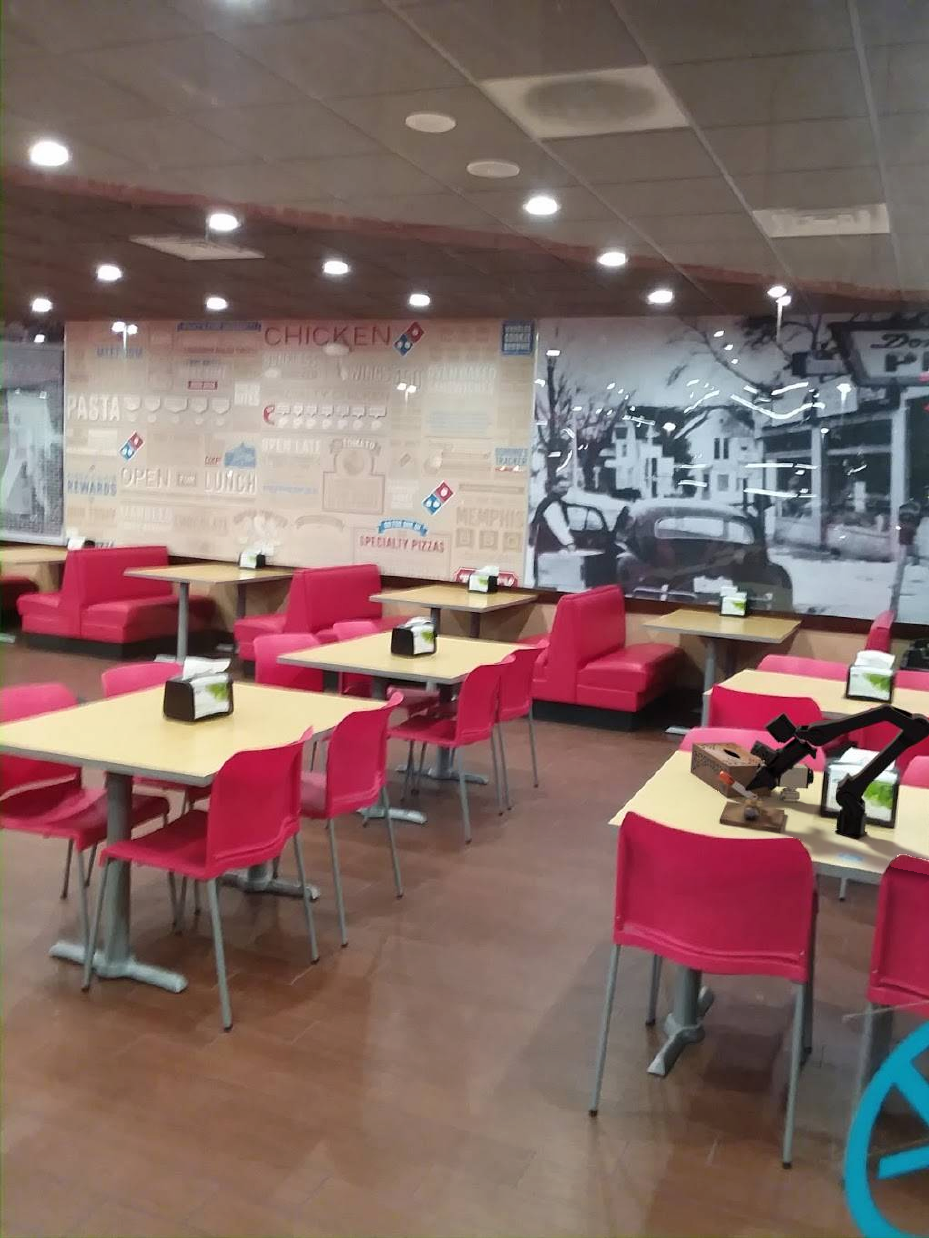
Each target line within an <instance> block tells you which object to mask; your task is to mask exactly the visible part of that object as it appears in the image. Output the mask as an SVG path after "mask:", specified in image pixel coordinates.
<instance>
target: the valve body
mask: <svg viewBox="0 0 929 1238" xmlns="http://www.w3.org/2000/svg"><path fill="white" fill-rule="evenodd" d="M755 795H757V794H755ZM744 804H745V805H744V814H743V816H744V819H745V820H749V821H757V819H758V818H760V816H761V813H762V806H763V800H762V799H761V797H758V799H757V801H756V798H754V797H751V800H749V799H748V798H747V799H745V802H744Z"/></svg>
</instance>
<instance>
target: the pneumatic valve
mask: <svg viewBox="0 0 929 1238" xmlns="http://www.w3.org/2000/svg"><path fill="white" fill-rule="evenodd" d="M776 778H777V777H776ZM777 779H778V778H777ZM814 779H815V773H814V769H812V768H810V767H809V766H808V765H807V764H806V763H799V762H798V763H797V764H796V765H794V767H793V769H791V770H790V769H789V770H788V771H787V772H785V773H784V774H783V775H782V777H781V778H780V779H778V784H777V787H778V788H782V789H781V790H780V792H779V797H780V799H782V800H783V801H784V803H797V802H798V800H800V798H801V795H800V794H801V793H800V791H797V789H806V790H807V789H809V786H810V785H812V784H814V781H815V780H814ZM777 787H776V788H777Z"/></svg>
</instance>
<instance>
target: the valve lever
mask: <svg viewBox="0 0 929 1238" xmlns="http://www.w3.org/2000/svg"><path fill="white" fill-rule="evenodd" d="M718 779H720V780H721V781H722V782H724V783H725V784H727V785H728V786H729V787H733V788H734V789H735V790H737V791H738V792H740V793H741V794H742V795H744V796H745V797H744V798H747V799H749V800H751V797H754V798H756V801H757V799H758V797H757V795H755V794H753V793H752V792H750V791H746V790H745V787H743V786H742V785H741V784H739V783H738V782H736V780H735V779H734V778H733V777H731V776H730V775H728V774H727V773H726V772H724V771H722V772H721V773H720V775H719V776H718Z"/></svg>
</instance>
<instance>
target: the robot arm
mask: <svg viewBox="0 0 929 1238" xmlns="http://www.w3.org/2000/svg"><path fill="white" fill-rule="evenodd" d="M883 722H887V723H890V724H892V725H894V726H896V727H897V728H899V730H898V732H897V733H896V736H895V737H894V738H892V740H891V741H889V742H888V744H887V745H886V746H884V748H882V750H880V751H879V753H877V754H876V755H875V756H874V757H873V758H872V759H871V760H870V761H869V762H868V763H867V764H865V766H864V767H863V768H861V769H860V771H858V772H857V773H855V774H854V775H851V774H850V773H849V772H847V773H846V774H845V776H844V777H843V779H841V780H840V781H837V784H836V785H837V786H836V789H835V801H836V804H837V805H838V806H839V807H840V809H839V813H838V814H837V816H836V824H835V825H836V826H835V828H836V830H834V833H835V834H839V835H842V836H845V837H849V838H853V839H857V840H859V839H861V838H863V837H865V836H866V835H868V832H867V831H866V825H867V816H868V813H867V812H866V800H864V799H863V796H864V795H865V792H866V791H867V790H868V788H869V786H870V785H871V784H872V783H873V782H874V781H875V780H876V779H877V778H878V777H879V776H880V775H882V773H883V772H885V770H887V769H888V767H890V766H891V765H892V764H893V763H894V762H895V761H897V759H898V758H899V757H901V755H902V754H903V753H904V752H905V751H907V750H908V749H909V748H911V747H913V746H915V745H918V744H919V743H921V742H922V741H923V740H925V739H927V738H928V737H929V718H928V717H927V716H926V715H925V714H923V713H920V712H919V713H913V712H911V711H908V710H905V709H902V708H899V707H896V706H894V705H892V704H890V703H882V704H880V705H878V706H876V707H872V708H869V709H866V710H863V711H859V712H857V713H854V714H850V715H846V716H844V717H840V718H837V719H825V720H816V721H813V722H810V723H809V724H800V725H799V724H798V725H795V723H794V722H793V721H792V720H791V719H790V718H789V716H788V715H787V713H785V712H782V713H781V714H779V715H777V716H776V717H773V718H772V719H771V720H770V721H768V722H767V723H766V724H765V725H764V727H763V728H764V729H765V730H766V731H767V733H769V735H770V736H771V737H772V738H773V739H774V740H775V741H776V743H778V744H779V743H780V744H784V746H781V747H777V748H776V749H774V748H772V747H770V746H769V745H767V744H766V743H763V742H761V741H760V740H756V739H755V742H754V743H753V745H752V746H751V748H750V750H749V751H750V753H751V754H752V755H755V756H757V757H759V758H761V760H762V761H763V760H764V764H762V765H760V764H758V766H757V769H756V774H755V776H754V777H753V778H752V779H751V780H750V782H749V783H748V784H747V785H746V787H745V790H746V791H750V790H754V789H758V788H763V787H768V789H769V790H771V791H773V790H775V789H776V788H777V784H778V779H780V778H781V777H782V775H783V774H784V773H785V772H787V771H788V770H789V769H790V770H791V769H793V767H794V765H796V764H797V763H798V764H799V762H801V761H802V760H804V759H805V758H806V757H808V756H811V758H812V759H813V760H816V759H817V755H818V754H817V753H818V749H819V748H818V747H823V746H824V745H826V744H828V743H830V742H832V741H834V740H836V739H838V738H839V737H840V736H842V735H844V734H848V733H851V732H854V731H857V730H860V729H864V728H867V727H871V726H873V725H876V724H879V723H883ZM776 777H777V778H778V779H777V778H776Z"/></svg>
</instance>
